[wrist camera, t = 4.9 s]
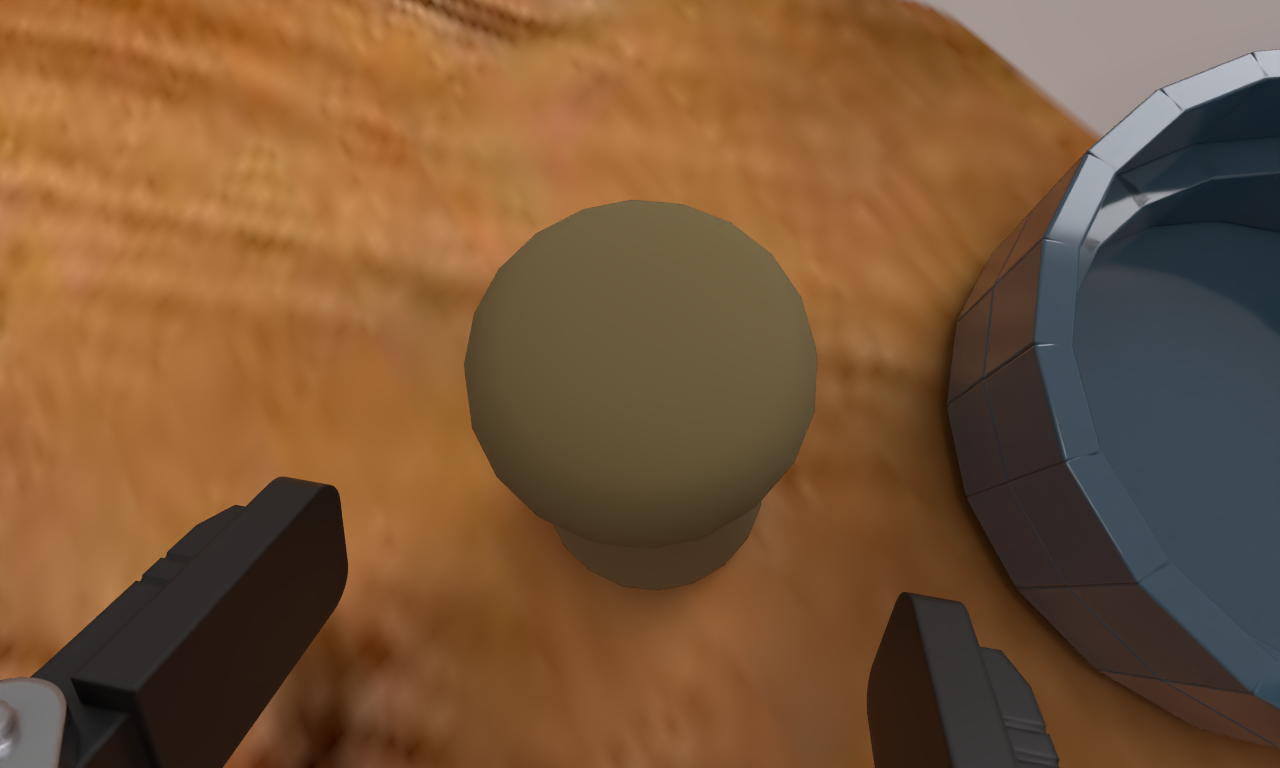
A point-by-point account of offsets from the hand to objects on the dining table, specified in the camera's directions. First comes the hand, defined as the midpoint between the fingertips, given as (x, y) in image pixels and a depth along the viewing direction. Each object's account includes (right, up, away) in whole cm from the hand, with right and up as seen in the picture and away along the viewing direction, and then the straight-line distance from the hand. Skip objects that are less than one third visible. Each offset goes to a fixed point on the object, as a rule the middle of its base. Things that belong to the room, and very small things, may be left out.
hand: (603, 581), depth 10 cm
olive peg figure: (+1, 0, +10) cm, 10 cm away
